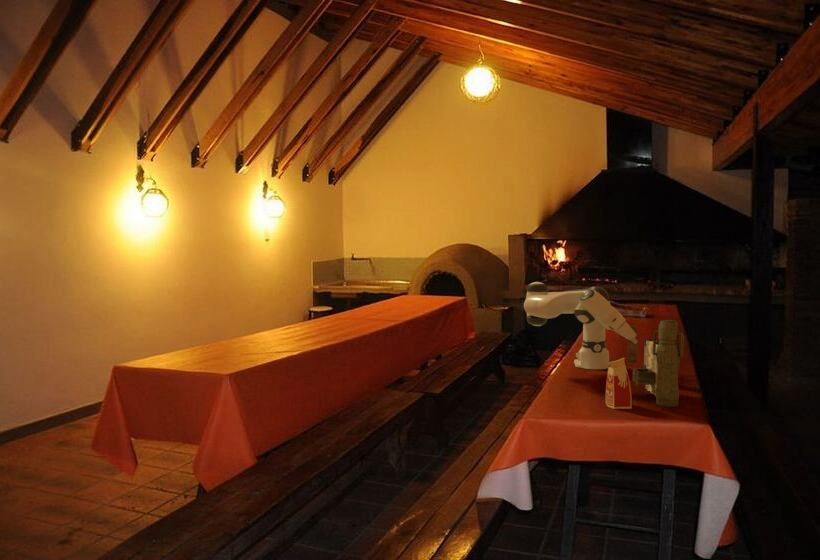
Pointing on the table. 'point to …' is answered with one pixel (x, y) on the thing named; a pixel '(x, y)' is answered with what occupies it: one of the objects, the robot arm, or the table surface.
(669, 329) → the thermos
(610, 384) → the milk carton
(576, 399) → the table surface
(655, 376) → the bracket
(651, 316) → the table surface
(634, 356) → the cylinder
